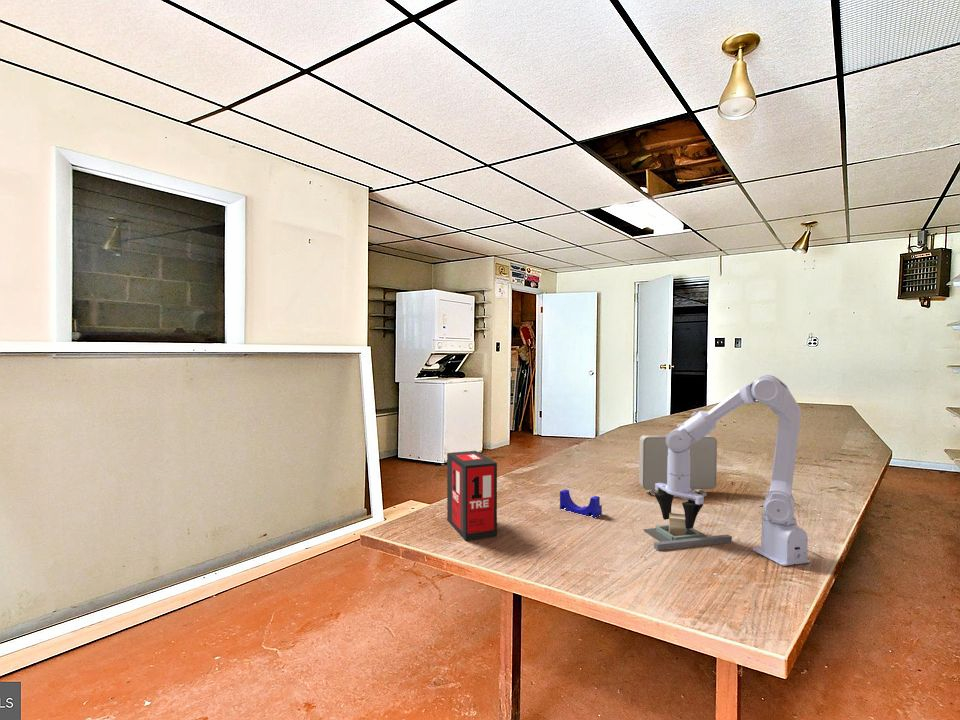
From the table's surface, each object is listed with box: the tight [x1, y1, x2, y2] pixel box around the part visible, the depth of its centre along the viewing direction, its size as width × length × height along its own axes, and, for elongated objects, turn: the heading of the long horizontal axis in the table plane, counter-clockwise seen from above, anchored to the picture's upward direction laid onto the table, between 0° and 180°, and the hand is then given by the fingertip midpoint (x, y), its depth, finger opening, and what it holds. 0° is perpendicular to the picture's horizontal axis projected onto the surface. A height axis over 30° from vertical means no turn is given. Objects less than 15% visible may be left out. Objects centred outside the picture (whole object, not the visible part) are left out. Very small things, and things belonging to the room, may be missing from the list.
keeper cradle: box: [642, 524, 708, 542], centre depth 136 cm, size 11×14×2 cm
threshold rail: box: [653, 534, 733, 552], centre depth 130 cm, size 2×22×2 cm, turn 104°
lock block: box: [668, 512, 686, 536], centre depth 136 cm, size 4×4×5 cm
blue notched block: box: [559, 489, 603, 519], centre depth 155 cm, size 12×4×6 cm, turn 50°
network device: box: [638, 434, 718, 498], centre depth 174 cm, size 26×9×20 cm, turn 92°
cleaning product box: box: [446, 450, 498, 542], centre depth 141 cm, size 16×9×20 cm, turn 21°
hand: (677, 523), depth 136 cm, fingers open, 7 cm apart
